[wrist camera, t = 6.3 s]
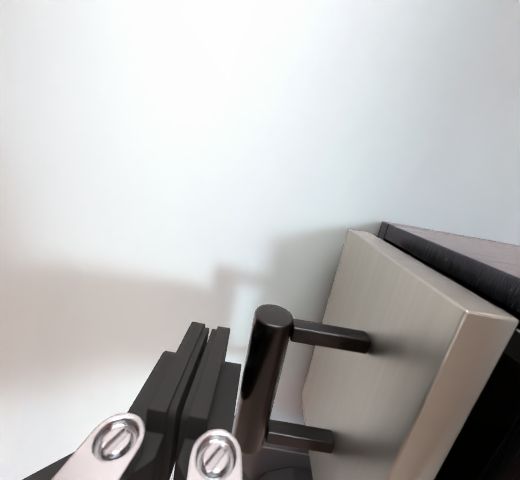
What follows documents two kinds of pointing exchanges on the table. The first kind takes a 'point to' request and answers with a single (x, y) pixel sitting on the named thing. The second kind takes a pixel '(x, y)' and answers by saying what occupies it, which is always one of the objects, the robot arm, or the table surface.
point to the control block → (277, 463)
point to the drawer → (389, 372)
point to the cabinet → (483, 279)
